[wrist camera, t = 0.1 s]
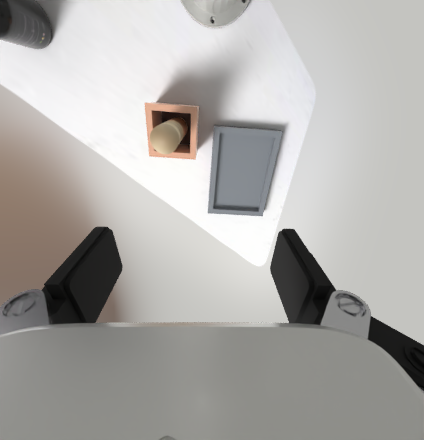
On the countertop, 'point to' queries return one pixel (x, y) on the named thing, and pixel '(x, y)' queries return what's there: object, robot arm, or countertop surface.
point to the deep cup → (155, 119)
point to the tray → (241, 169)
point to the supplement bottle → (24, 23)
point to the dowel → (168, 135)
